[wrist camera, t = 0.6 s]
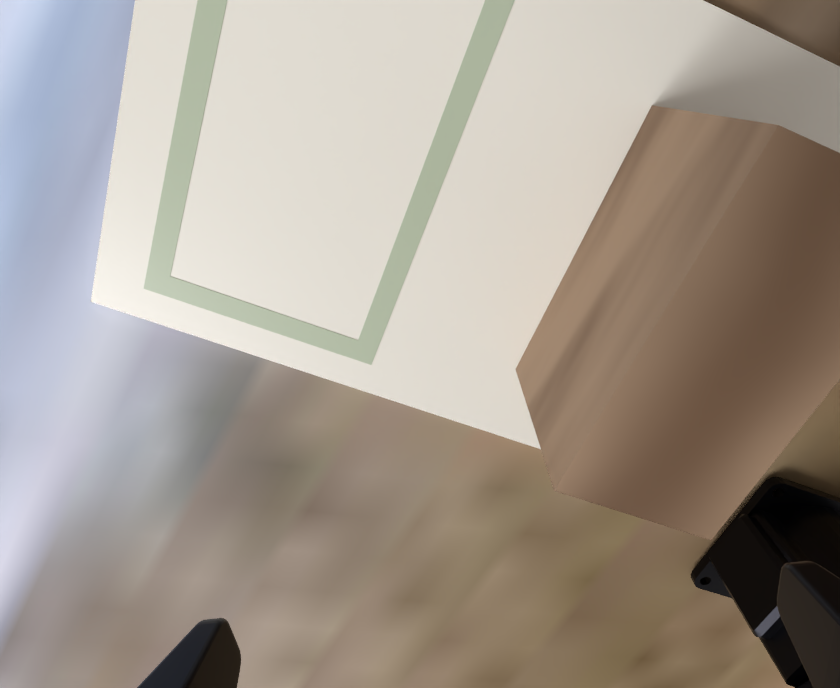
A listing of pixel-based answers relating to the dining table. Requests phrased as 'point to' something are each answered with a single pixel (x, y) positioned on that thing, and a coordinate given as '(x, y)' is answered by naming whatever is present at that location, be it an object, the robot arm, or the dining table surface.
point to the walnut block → (691, 321)
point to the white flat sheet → (403, 172)
